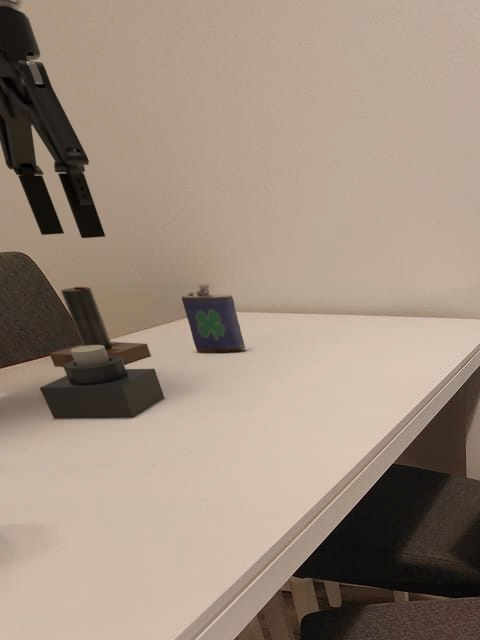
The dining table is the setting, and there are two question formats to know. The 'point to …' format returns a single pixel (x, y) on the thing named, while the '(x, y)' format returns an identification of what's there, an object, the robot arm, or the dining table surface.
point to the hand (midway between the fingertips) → (72, 236)
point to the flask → (213, 321)
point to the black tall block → (86, 316)
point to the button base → (102, 391)
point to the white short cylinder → (90, 355)
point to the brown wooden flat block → (120, 349)
